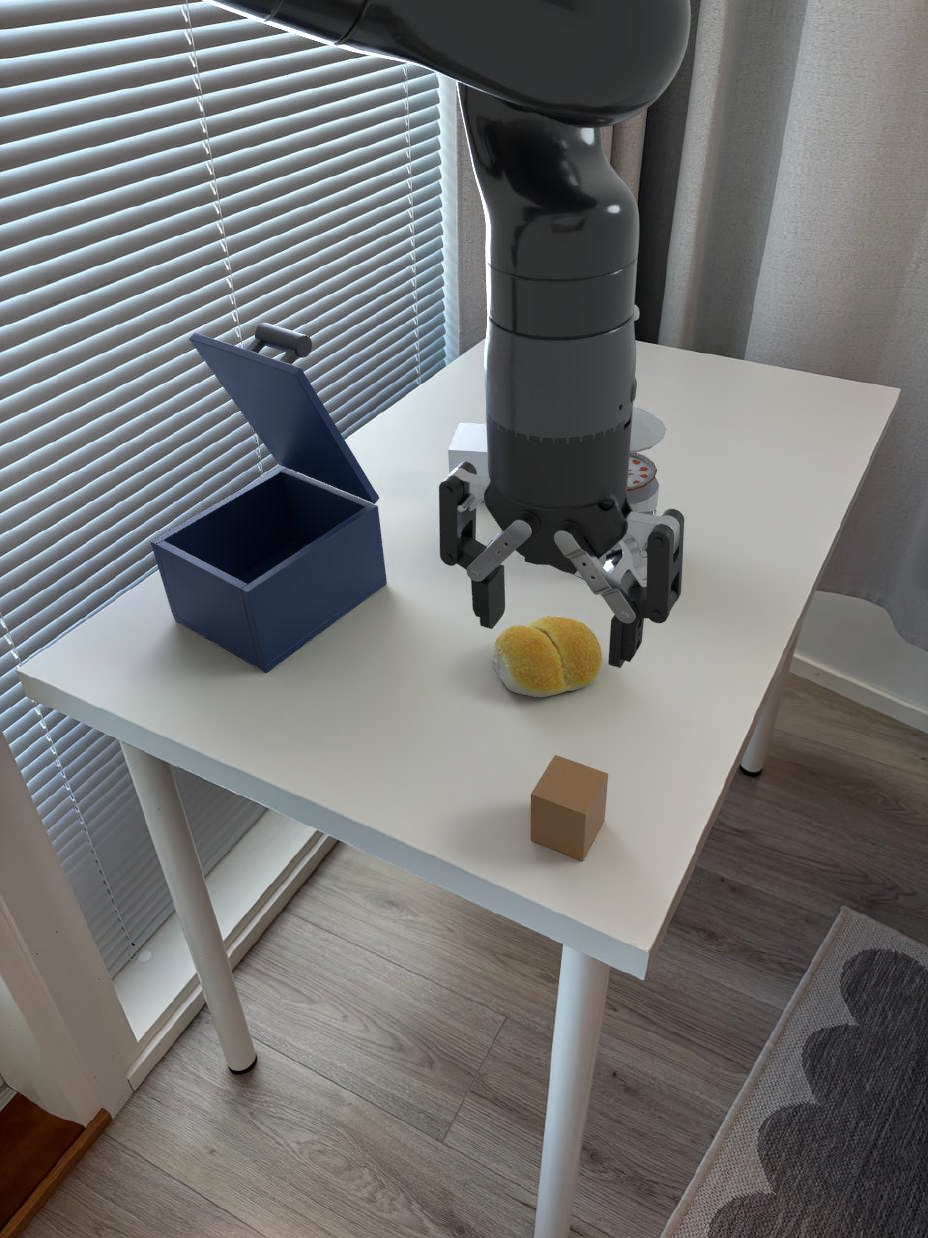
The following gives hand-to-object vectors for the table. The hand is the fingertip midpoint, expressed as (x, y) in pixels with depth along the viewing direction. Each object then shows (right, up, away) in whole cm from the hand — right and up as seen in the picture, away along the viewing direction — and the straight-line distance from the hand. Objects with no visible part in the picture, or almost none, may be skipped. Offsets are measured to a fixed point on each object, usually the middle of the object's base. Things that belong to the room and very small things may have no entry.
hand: (555, 639), depth 59 cm
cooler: (-23, +3, +31) cm, 38 cm away
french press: (+8, +7, +34) cm, 36 cm away
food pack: (+2, -14, +9) cm, 16 cm away
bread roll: (+1, -3, +22) cm, 22 cm away
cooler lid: (-21, +18, +23) cm, 36 cm away
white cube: (-3, +16, +45) cm, 48 cm away
